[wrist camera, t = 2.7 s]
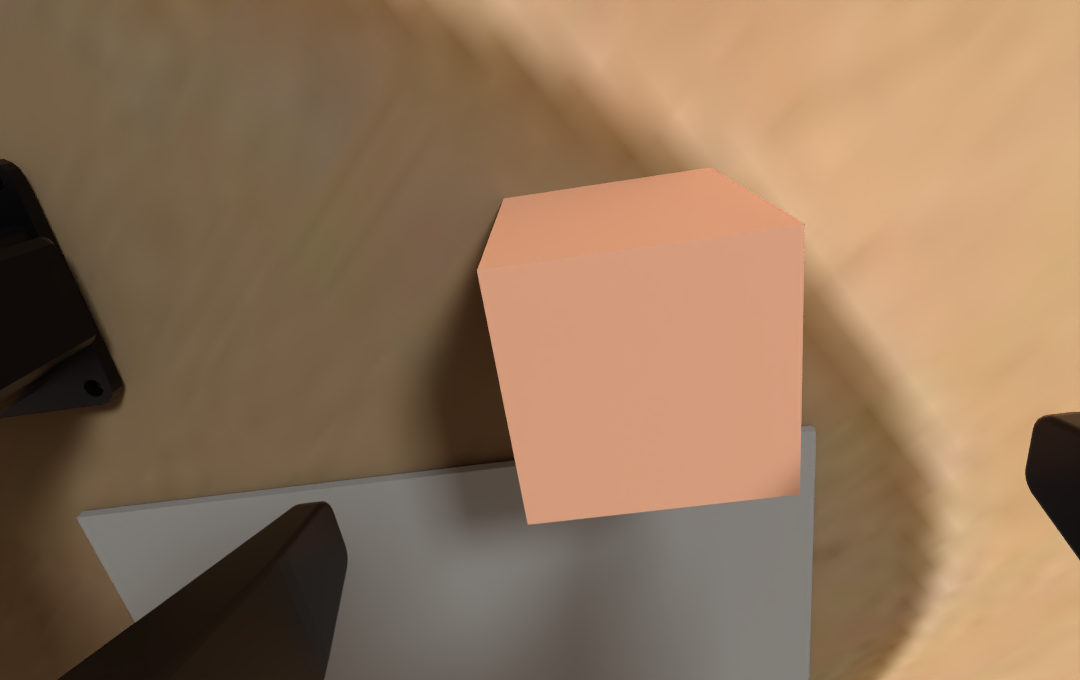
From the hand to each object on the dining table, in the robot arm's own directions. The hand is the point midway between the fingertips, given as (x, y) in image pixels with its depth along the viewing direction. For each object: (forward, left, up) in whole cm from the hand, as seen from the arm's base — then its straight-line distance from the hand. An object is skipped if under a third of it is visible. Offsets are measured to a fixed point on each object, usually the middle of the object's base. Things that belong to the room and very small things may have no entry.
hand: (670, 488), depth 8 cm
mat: (-6, -13, -9) cm, 17 cm away
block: (0, 0, -9) cm, 9 cm away
